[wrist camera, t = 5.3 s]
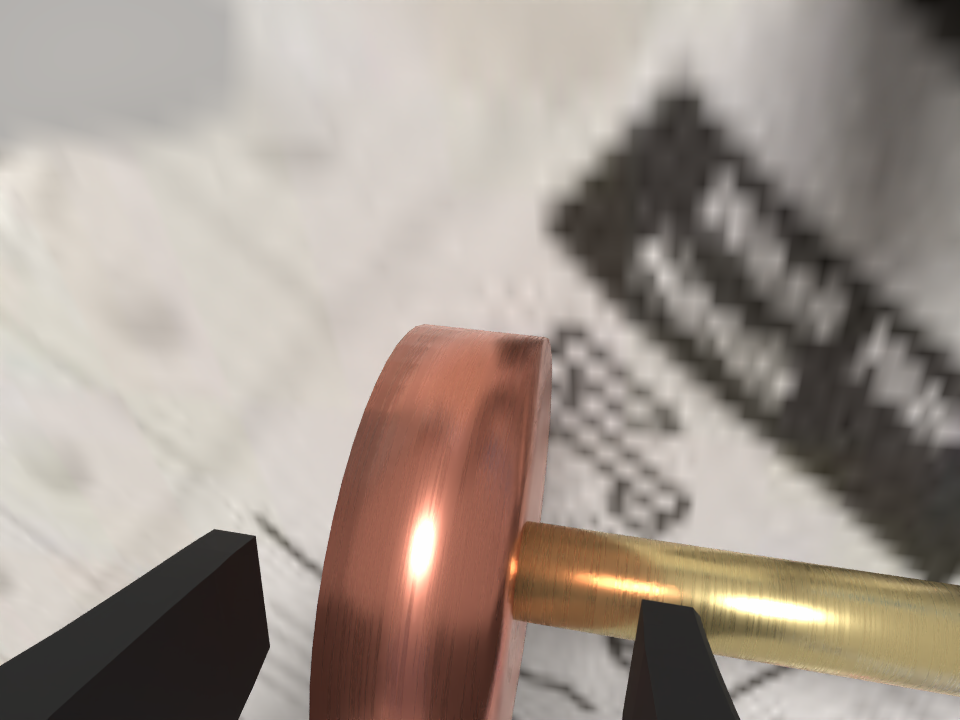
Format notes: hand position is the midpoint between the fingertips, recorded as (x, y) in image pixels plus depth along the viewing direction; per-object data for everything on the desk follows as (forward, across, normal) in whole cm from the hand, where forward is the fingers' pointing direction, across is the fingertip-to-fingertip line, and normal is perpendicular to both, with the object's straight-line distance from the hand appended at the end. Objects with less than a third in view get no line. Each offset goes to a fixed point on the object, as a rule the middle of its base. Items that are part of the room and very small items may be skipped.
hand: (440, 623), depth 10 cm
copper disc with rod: (+5, -5, 0) cm, 7 cm away
